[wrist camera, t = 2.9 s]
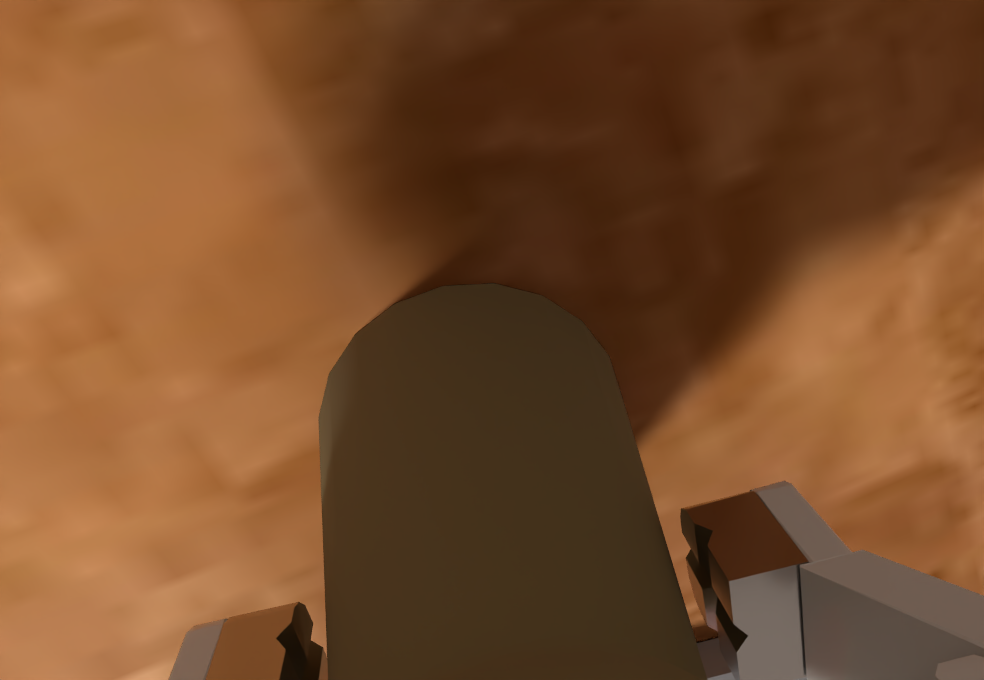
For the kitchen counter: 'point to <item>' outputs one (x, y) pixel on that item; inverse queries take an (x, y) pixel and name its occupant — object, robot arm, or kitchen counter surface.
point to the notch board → (716, 661)
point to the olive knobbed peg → (490, 503)
